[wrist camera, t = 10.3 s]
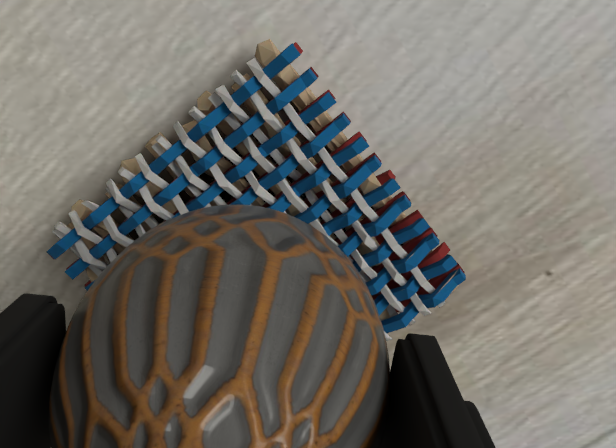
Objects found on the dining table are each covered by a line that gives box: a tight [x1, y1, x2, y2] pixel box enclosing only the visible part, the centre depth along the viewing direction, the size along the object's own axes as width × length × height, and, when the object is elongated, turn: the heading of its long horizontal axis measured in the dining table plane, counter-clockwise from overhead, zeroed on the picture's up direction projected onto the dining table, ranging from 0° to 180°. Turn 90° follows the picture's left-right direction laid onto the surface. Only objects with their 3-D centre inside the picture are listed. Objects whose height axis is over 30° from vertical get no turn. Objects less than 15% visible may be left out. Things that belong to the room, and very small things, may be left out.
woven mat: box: [47, 39, 466, 341], centre depth 16 cm, size 10×11×2 cm
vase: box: [49, 205, 390, 448], centre depth 10 cm, size 7×7×9 cm
